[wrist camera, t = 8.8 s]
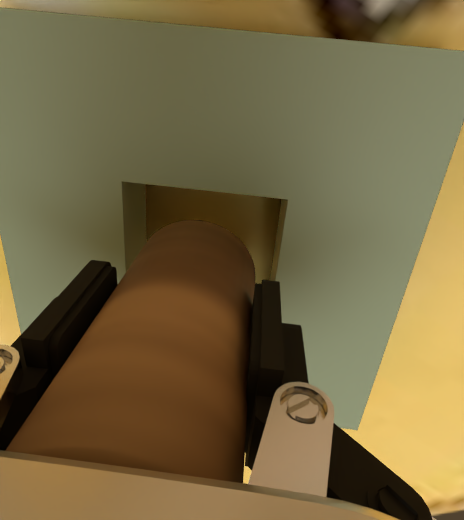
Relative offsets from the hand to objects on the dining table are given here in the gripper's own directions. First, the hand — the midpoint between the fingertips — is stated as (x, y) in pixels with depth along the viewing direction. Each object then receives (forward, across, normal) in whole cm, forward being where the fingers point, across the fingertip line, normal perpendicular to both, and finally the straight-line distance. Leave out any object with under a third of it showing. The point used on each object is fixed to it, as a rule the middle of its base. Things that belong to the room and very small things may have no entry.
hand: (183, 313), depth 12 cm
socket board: (+6, 0, 0) cm, 6 cm away
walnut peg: (+3, 0, 0) cm, 3 cm away
